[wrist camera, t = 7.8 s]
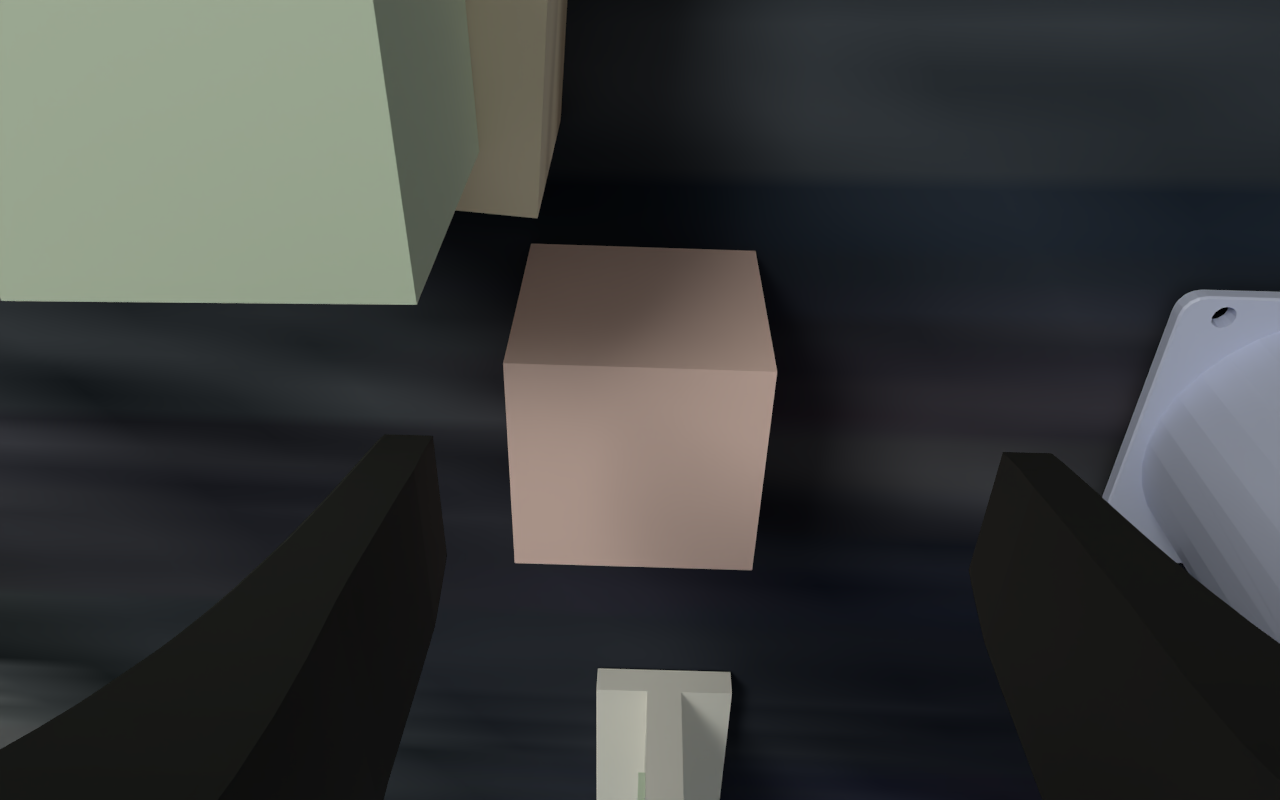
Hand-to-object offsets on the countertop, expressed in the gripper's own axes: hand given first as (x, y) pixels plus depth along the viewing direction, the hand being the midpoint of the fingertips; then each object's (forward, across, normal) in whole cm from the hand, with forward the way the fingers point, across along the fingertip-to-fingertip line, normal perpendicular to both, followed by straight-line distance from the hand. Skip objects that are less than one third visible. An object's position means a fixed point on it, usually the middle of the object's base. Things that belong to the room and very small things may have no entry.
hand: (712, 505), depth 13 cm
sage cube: (+6, +6, -5) cm, 10 cm away
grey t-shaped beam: (+10, 0, +19) cm, 22 cm away
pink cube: (+10, +1, +4) cm, 11 cm away
